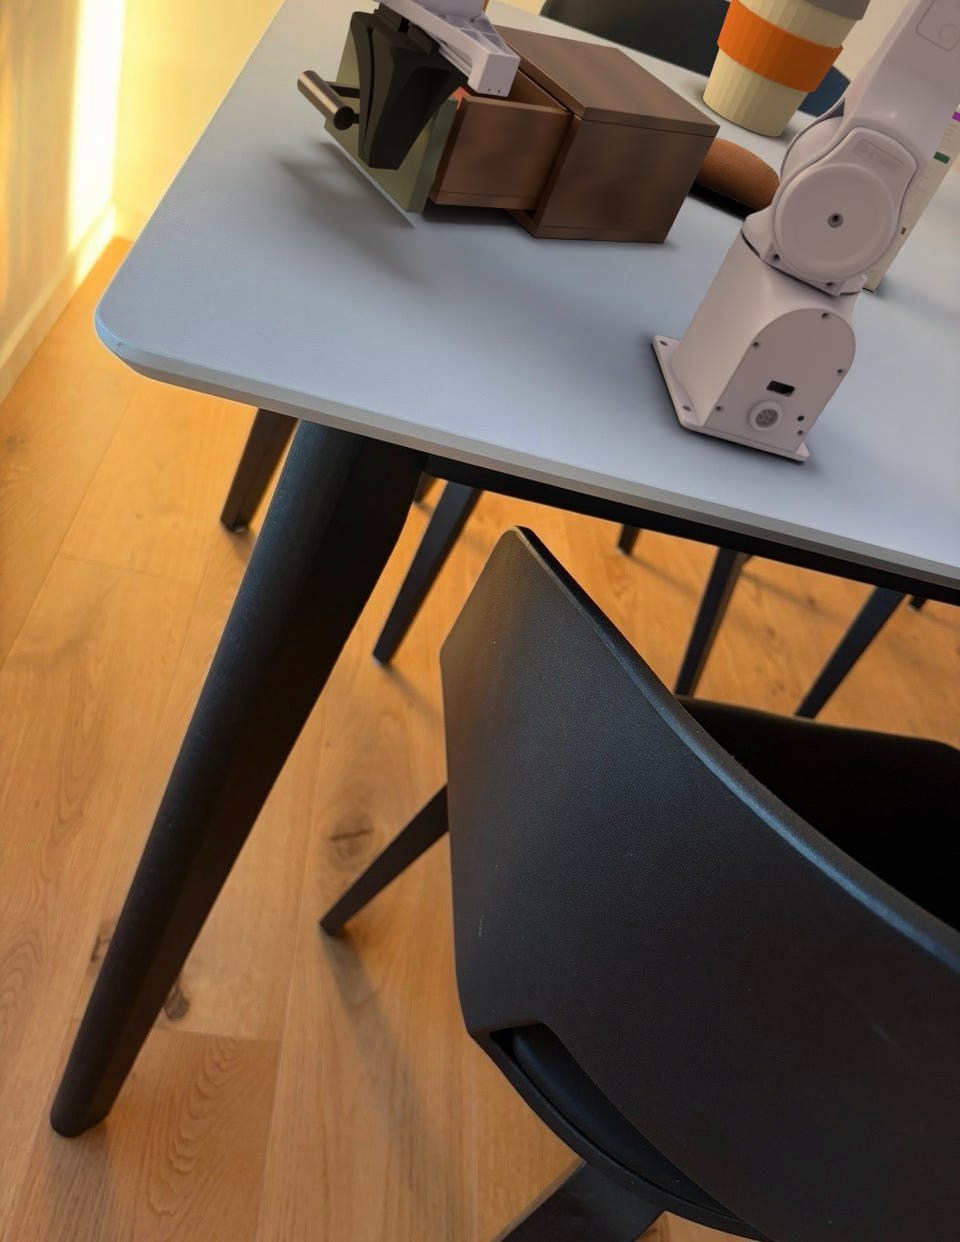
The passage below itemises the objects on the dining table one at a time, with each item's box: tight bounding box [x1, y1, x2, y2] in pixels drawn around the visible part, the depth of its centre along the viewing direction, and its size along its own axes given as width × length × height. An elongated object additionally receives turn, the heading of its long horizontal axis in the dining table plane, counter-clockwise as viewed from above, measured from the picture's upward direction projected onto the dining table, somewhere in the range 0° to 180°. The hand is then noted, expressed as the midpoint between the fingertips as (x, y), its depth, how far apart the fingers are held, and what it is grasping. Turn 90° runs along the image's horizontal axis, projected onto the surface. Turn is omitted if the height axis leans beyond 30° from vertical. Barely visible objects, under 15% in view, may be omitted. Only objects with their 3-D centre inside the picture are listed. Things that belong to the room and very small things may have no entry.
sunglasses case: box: [694, 136, 780, 213], centre depth 91 cm, size 18×7×7 cm
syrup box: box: [863, 104, 960, 292], centre depth 86 cm, size 6×6×14 cm
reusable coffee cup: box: [702, 0, 871, 138], centre depth 110 cm, size 12×13×15 cm
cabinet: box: [492, 23, 721, 244], centre depth 76 cm, size 13×12×9 cm
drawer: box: [296, 25, 575, 214], centre depth 68 cm, size 16×10×7 cm, turn 125°
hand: (378, 163), depth 63 cm, fingers closed
